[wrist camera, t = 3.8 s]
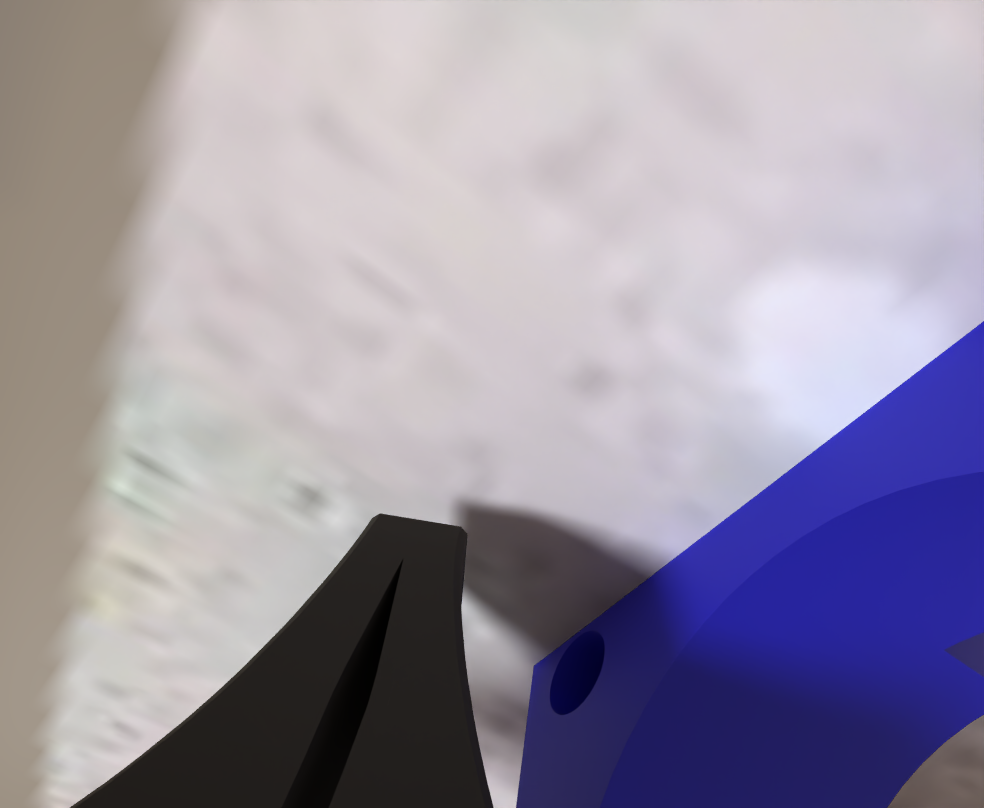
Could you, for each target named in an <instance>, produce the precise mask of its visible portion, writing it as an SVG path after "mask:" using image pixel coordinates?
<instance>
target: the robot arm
mask: <svg viewBox="0 0 984 808" xmlns="http://www.w3.org/2000/svg"><path fill="white" fill-rule="evenodd" d="M466 546H467V533H466V532H465V531H464V530H463V529H462V528H461V527H459V526H453V525H447V524H441V523H435V522H429V521H422V520H416V519H410V518H404V517H398V516H392V515H386V514H378V515H377V516H375V517H373V518H372V519H371V521H370V522H369V524H368V525H367V527H366V528H365V530H364V531H363V532H362V534H361V535H360V536H359V538H358V539H357V540H356V542H355V543H354V544H353V546H352V547H351V548H350V550H349V551H348V552H347V554H346V555H345V556H344V557H343V559H342V560H341V561H340V562H339V564H338V565H337V566H336V567H335V568H334V570H333V571H332V572H331V573H330V575H329V576H328V577H327V578H326V579H325V581H324V582H323V583H322V584H321V585H320V586H319V587H318V589H317V590H316V591H315V592H314V593H313V594H312V595H311V596H310V598H309V599H308V600H307V601H306V602H305V603H304V604H303V606H302V607H301V608H300V609H299V610H298V611H297V612H296V613H295V615H294V616H293V617H292V618H291V619H290V620H289V621H288V622H287V623H286V624H285V625H284V627H283V628H282V629H281V630H280V631H279V632H278V633H277V634H276V635H275V636H274V637H273V638H272V639H271V640H270V641H269V642H268V643H267V644H266V645H265V646H264V647H263V648H262V649H261V650H260V651H259V652H258V653H257V654H256V655H255V656H254V657H253V658H252V659H251V660H250V661H249V662H248V663H247V664H246V665H245V666H244V667H243V668H242V669H241V670H240V671H239V672H238V673H237V674H236V675H235V676H234V677H232V678H231V679H230V680H229V681H228V682H227V683H226V684H225V685H224V686H223V687H222V688H221V689H220V690H218V691H217V692H216V693H215V694H214V695H213V696H212V697H211V698H210V699H208V700H207V701H206V702H205V703H204V704H203V705H202V706H200V707H199V708H198V709H197V710H196V711H195V712H194V713H192V714H191V715H190V716H189V717H188V718H187V719H185V720H184V721H183V722H182V723H181V724H180V725H178V726H177V727H176V728H175V729H173V730H172V731H171V732H170V733H168V734H167V735H166V736H165V737H163V738H162V739H161V740H160V741H158V742H157V743H156V744H155V745H154V746H152V747H151V748H150V749H149V750H147V751H146V752H145V753H144V754H142V755H141V756H140V757H139V758H137V759H136V760H135V761H133V762H132V763H131V764H130V765H128V766H127V767H126V768H124V769H123V770H122V771H120V772H119V773H118V774H116V775H115V776H114V777H112V778H111V779H110V780H108V781H107V782H106V783H104V784H103V785H101V786H100V787H98V788H97V789H96V790H94V791H93V792H91V793H90V794H88V795H87V796H86V797H84V798H83V799H81V800H80V801H79V802H77V803H76V804H74V805H73V806H71V807H70V808H493V804H492V800H491V796H490V792H489V788H488V784H487V780H486V775H485V770H484V766H483V761H482V757H481V752H480V747H479V742H478V737H477V732H476V727H475V721H474V716H473V710H472V703H471V697H470V691H469V684H468V677H467V669H466V661H465V651H464V640H463V628H462V614H461V604H462V593H463V581H464V569H465V558H466Z"/></svg>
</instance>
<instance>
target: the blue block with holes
mask: <svg viewBox="0 0 984 808" xmlns="http://www.w3.org/2000/svg"><path fill="white" fill-rule="evenodd" d="M982 715H984V321H983V322H982V323H981V324H980V325H978V326H977V327H976V328H974V329H973V330H972V331H970V332H969V333H968V334H967V335H965V336H964V337H963V338H961V339H960V340H959V341H957V342H956V343H955V344H953V345H952V346H951V347H950V348H948V349H947V350H946V351H944V352H943V353H942V354H940V355H939V356H938V357H937V358H935V359H934V360H933V361H931V362H930V363H929V364H927V365H926V366H925V367H923V368H922V369H921V370H920V371H918V372H917V373H916V374H914V375H913V376H912V377H910V378H909V379H908V380H907V381H905V382H904V383H903V384H901V385H900V386H899V387H897V388H896V389H895V390H893V391H892V392H891V393H890V394H888V395H887V396H886V397H884V398H883V399H882V400H880V401H879V402H878V403H877V404H875V405H874V406H873V407H871V408H870V409H869V410H867V411H866V412H865V413H863V414H862V415H861V416H860V417H858V418H857V419H856V420H854V421H853V422H852V423H850V424H849V425H848V426H847V427H845V428H844V429H843V430H841V431H840V432H839V433H837V434H836V435H835V436H833V437H832V438H831V439H830V440H828V441H827V442H826V443H824V444H823V445H822V446H820V447H819V448H818V449H817V450H815V451H814V452H813V453H811V454H810V455H809V456H807V457H806V458H805V459H803V460H802V461H801V462H800V463H798V464H797V465H796V466H794V467H793V468H792V469H790V470H789V471H788V472H787V473H785V474H784V475H783V476H781V477H780V478H779V479H777V480H776V481H775V482H773V483H772V484H771V485H770V486H768V487H767V488H766V489H764V490H763V491H762V492H760V493H759V494H758V495H757V496H755V497H754V498H753V499H751V500H750V501H749V502H747V503H746V504H745V505H743V506H742V507H741V508H740V509H738V510H737V511H736V512H734V513H733V514H732V515H730V516H729V517H728V518H726V519H725V520H724V521H723V522H721V523H720V524H719V525H717V526H716V527H715V528H713V529H712V530H711V531H710V532H708V533H707V534H706V535H704V536H703V537H702V538H700V539H699V540H698V541H696V542H695V543H694V544H693V545H691V546H690V547H689V548H687V549H686V550H685V551H683V552H682V553H681V554H680V555H678V556H677V557H676V558H674V559H673V560H672V561H670V562H669V563H668V564H666V565H665V566H664V567H663V568H661V569H660V570H659V571H657V572H656V573H655V574H653V575H652V576H651V577H650V578H648V579H647V580H646V581H644V582H643V583H642V584H640V585H639V586H638V587H636V588H635V589H634V590H633V591H631V592H630V593H629V594H627V595H626V596H625V597H623V598H622V599H621V600H620V601H618V602H617V603H616V604H614V605H613V606H612V607H610V608H609V609H608V610H606V611H605V612H604V613H603V614H601V615H600V616H599V617H597V618H596V619H595V620H593V621H592V622H591V623H590V624H588V625H587V626H586V627H584V628H583V629H582V630H580V631H579V632H578V633H576V634H575V635H574V636H573V637H571V638H570V639H569V640H567V641H566V642H565V643H563V644H562V645H561V646H560V647H558V648H557V649H556V650H554V651H553V652H552V653H550V654H549V655H548V656H546V657H545V658H544V659H543V660H541V661H540V662H539V663H537V664H536V665H535V666H534V669H533V677H532V685H531V693H530V701H529V709H528V717H527V725H526V733H525V741H524V749H523V757H522V765H521V773H520V781H519V789H518V797H517V805H516V808H887V807H888V806H889V804H890V803H891V801H892V800H893V799H894V797H895V796H896V794H897V793H898V792H899V790H900V789H901V787H902V786H903V785H904V784H905V783H906V781H907V780H908V779H909V778H910V777H911V776H912V775H913V773H914V772H915V771H916V770H917V769H918V768H919V767H920V765H921V764H922V763H923V762H924V761H925V760H926V759H927V758H928V757H930V756H931V755H932V754H933V753H934V752H935V751H936V750H937V749H938V748H939V747H940V746H941V745H942V744H944V743H945V742H946V741H947V740H948V739H950V738H951V737H952V736H954V735H955V734H956V733H958V732H959V731H960V730H962V729H963V728H964V727H966V726H967V725H968V724H970V723H971V722H972V721H974V720H976V719H977V718H979V717H981V716H982Z"/></svg>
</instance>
